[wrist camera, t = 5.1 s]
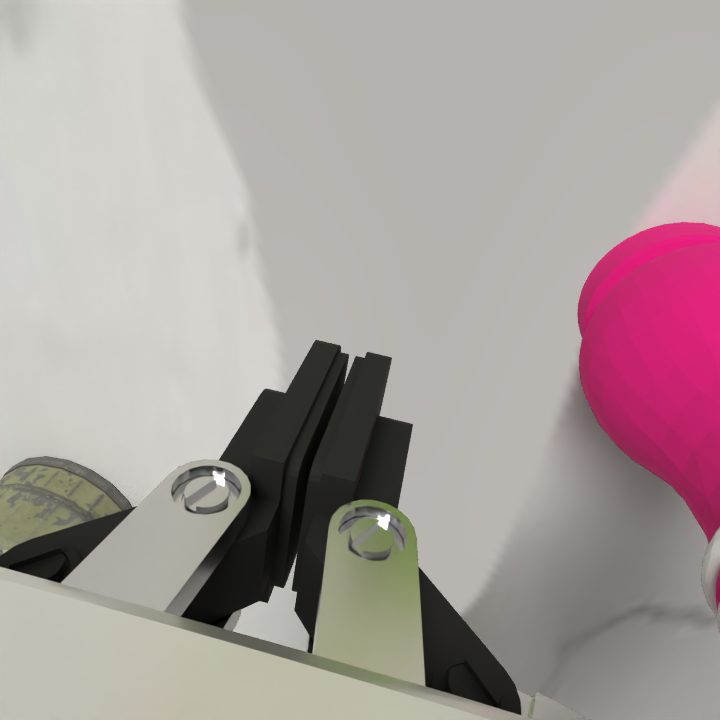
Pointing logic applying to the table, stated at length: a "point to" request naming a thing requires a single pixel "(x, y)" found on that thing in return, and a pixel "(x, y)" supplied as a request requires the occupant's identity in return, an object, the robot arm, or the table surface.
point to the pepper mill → (661, 365)
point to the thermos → (52, 498)
